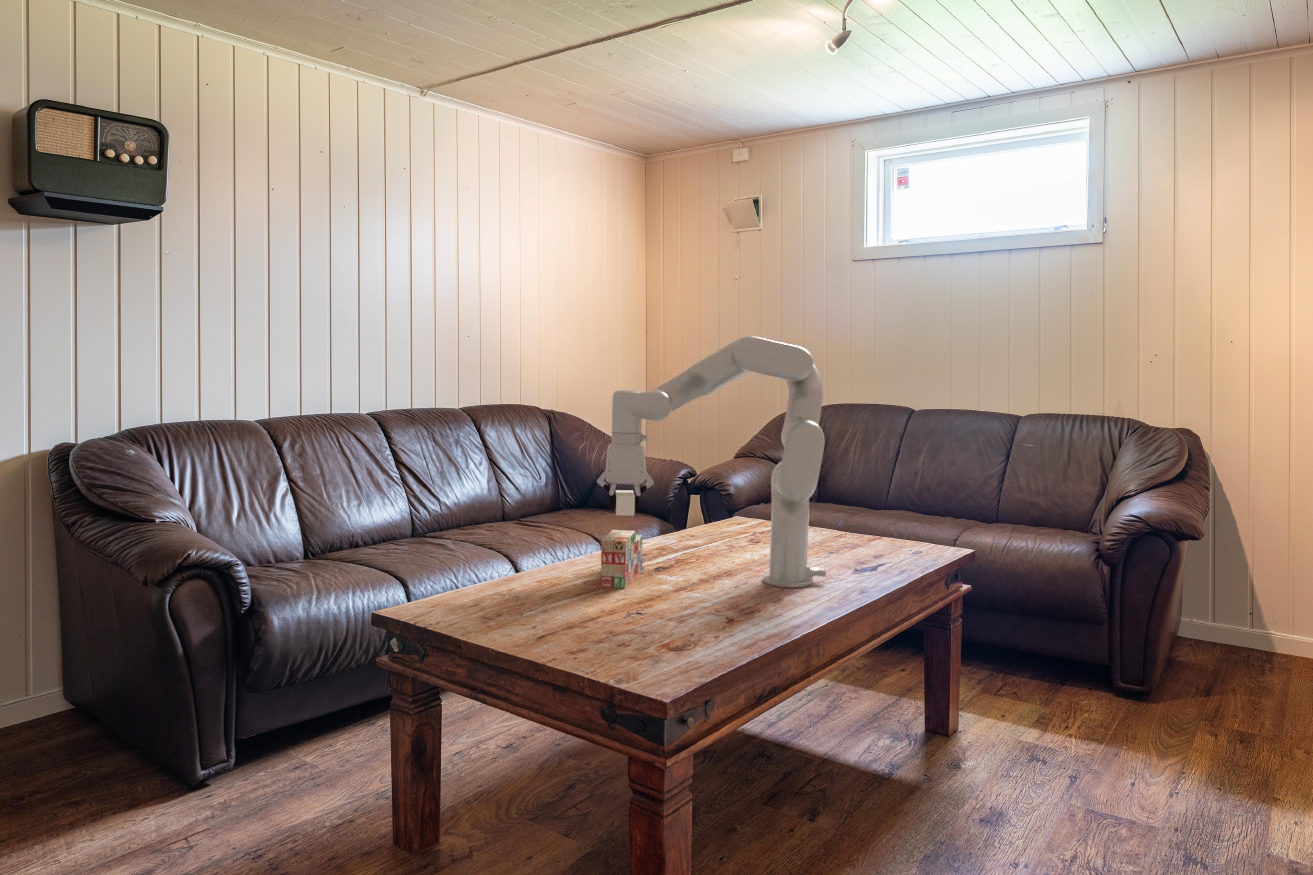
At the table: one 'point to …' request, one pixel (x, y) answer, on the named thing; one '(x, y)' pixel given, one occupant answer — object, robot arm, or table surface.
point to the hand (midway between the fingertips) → (624, 509)
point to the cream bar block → (625, 502)
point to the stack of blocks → (620, 558)
